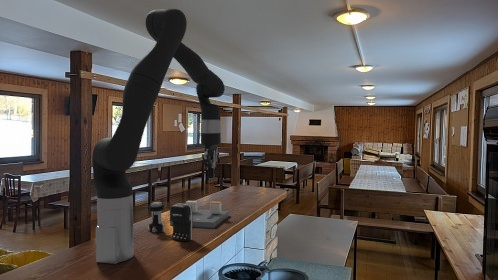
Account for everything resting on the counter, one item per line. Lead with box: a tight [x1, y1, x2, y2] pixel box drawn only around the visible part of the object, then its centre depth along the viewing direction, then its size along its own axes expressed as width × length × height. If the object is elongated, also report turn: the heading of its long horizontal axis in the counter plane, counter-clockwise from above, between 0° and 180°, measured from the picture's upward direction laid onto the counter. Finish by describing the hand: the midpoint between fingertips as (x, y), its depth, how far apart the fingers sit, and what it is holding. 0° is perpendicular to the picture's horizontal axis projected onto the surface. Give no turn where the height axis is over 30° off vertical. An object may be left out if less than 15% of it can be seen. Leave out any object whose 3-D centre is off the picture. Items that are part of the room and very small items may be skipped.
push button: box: [147, 201, 165, 234], centre depth 123 cm, size 7×5×10 cm
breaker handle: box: [209, 200, 223, 214], centre depth 139 cm, size 2×4×4 cm, turn 76°
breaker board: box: [169, 200, 230, 229], centre depth 137 cm, size 18×17×6 cm
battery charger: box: [169, 203, 193, 242], centre depth 113 cm, size 7×4×11 cm, turn 64°
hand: (211, 177), depth 135 cm, fingers closed
